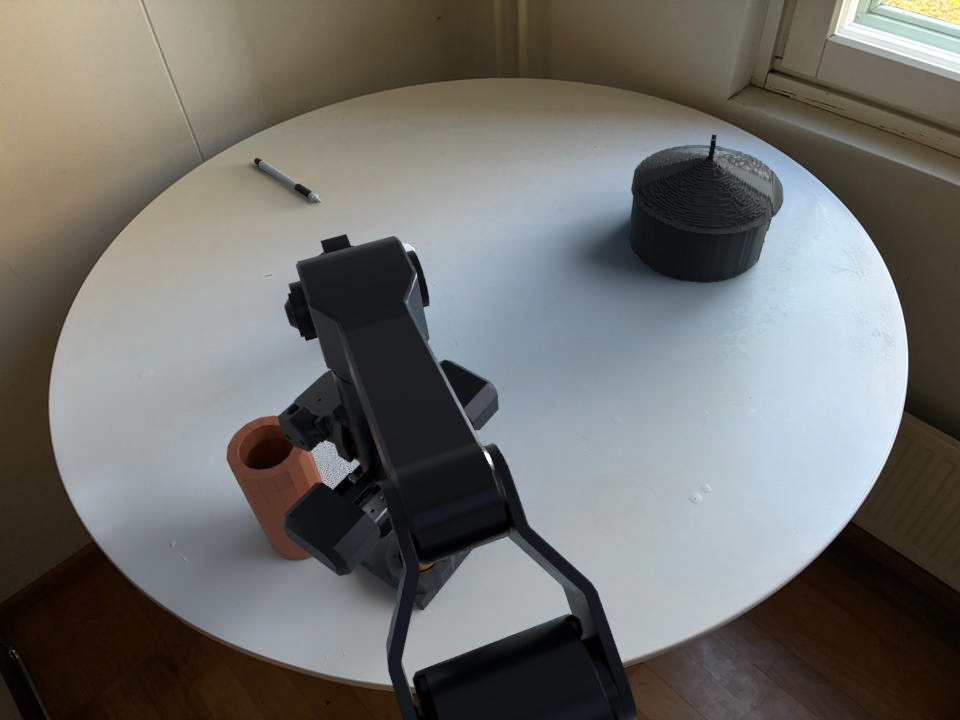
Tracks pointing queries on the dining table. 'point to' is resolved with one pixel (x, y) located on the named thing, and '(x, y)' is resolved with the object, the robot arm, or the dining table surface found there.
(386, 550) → the scale
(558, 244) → the dining table surface
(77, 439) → the dining table surface
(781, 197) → the hut
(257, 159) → the pen
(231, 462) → the jar
